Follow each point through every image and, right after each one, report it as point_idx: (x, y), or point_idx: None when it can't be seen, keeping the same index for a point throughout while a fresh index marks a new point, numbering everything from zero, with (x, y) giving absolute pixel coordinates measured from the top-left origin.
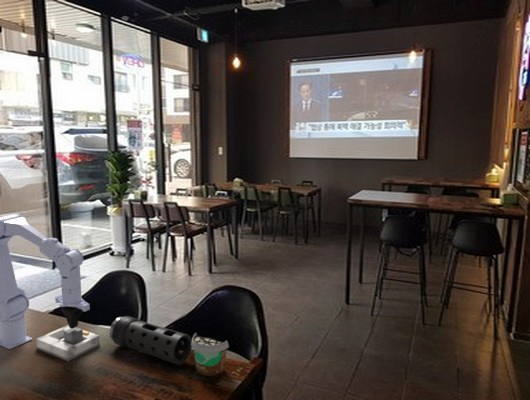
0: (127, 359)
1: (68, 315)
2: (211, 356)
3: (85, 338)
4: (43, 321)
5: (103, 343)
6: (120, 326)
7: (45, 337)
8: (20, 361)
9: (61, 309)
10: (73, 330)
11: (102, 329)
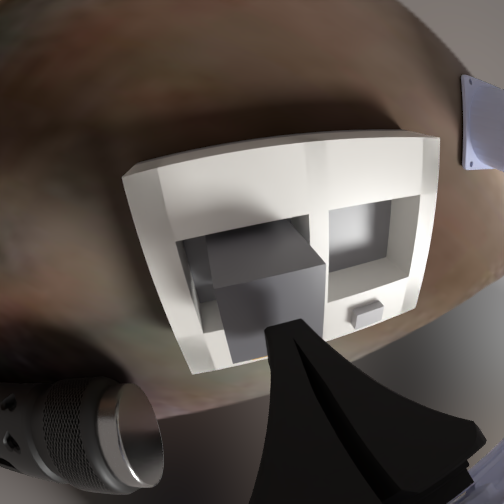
0: (18, 342)
1: (321, 447)
2: None
3: None
4: (492, 254)
5: None
6: (58, 455)
7: (417, 174)
8: (349, 16)
9: (468, 452)
10: (269, 320)
11: None
